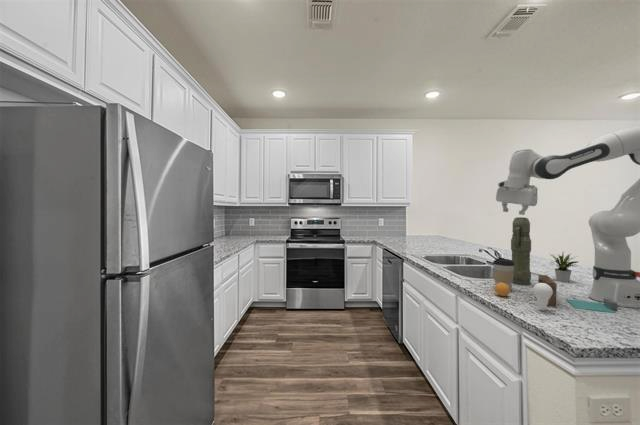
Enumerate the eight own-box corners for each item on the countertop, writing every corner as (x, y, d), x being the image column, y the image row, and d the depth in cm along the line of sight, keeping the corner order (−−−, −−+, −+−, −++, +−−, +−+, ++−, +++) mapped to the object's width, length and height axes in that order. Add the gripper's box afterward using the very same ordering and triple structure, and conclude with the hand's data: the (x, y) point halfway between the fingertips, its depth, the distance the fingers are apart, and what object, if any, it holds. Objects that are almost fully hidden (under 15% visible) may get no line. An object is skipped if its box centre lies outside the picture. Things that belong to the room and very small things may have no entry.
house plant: (551, 283, 151) (552, 252, 151) (539, 277, 164) (539, 248, 164) (584, 285, 147) (584, 253, 147) (569, 278, 161) (569, 249, 160)
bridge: (546, 296, 130) (546, 275, 130) (556, 307, 117) (556, 283, 117) (538, 295, 132) (538, 274, 131) (547, 305, 118) (547, 282, 118)
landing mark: (601, 303, 121) (601, 302, 121) (615, 313, 110) (615, 312, 110) (565, 299, 126) (565, 298, 126) (575, 308, 115) (575, 307, 115)
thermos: (532, 282, 154) (533, 217, 153) (528, 286, 146) (529, 218, 145) (513, 279, 160) (513, 217, 159) (508, 283, 152) (508, 217, 151)
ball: (508, 294, 133) (508, 282, 133) (510, 298, 127) (511, 285, 127) (493, 293, 135) (493, 280, 135) (495, 296, 130) (495, 283, 130)
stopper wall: (609, 306, 117) (610, 298, 117) (617, 311, 112) (617, 303, 112) (603, 305, 118) (603, 298, 118) (610, 310, 113) (610, 302, 113)
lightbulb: (553, 314, 109) (554, 286, 108) (533, 311, 112) (534, 283, 112) (551, 309, 114) (551, 282, 114) (532, 306, 117) (532, 280, 117)
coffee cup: (517, 292, 137) (518, 261, 136) (497, 291, 139) (497, 260, 138) (509, 286, 146) (509, 257, 145) (489, 285, 148) (490, 257, 147)
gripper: (543, 185, 126) (538, 216, 128) (506, 183, 146) (502, 210, 148) (531, 185, 125) (526, 216, 127) (495, 183, 145) (491, 210, 147)
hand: (513, 213), depth 137 cm, fingers open, 8 cm apart
